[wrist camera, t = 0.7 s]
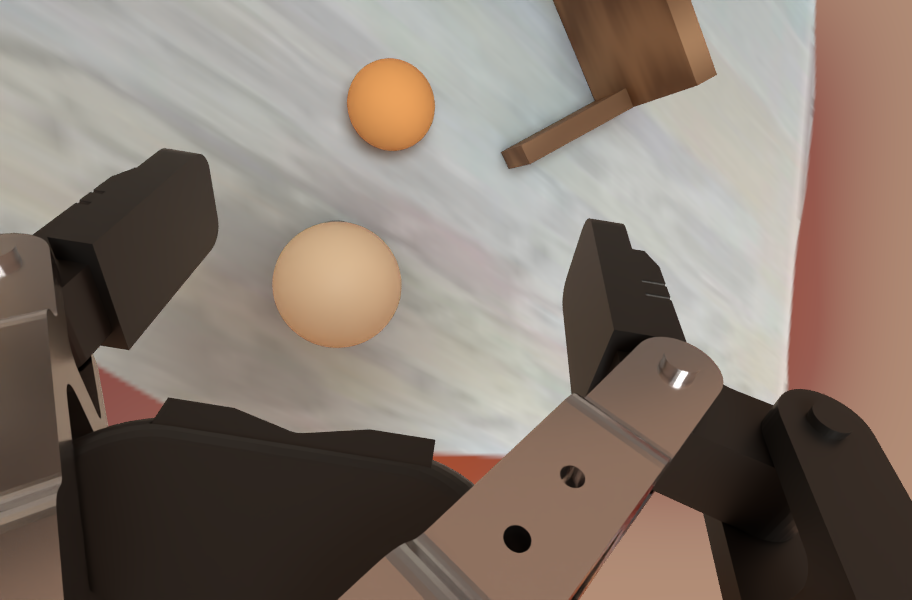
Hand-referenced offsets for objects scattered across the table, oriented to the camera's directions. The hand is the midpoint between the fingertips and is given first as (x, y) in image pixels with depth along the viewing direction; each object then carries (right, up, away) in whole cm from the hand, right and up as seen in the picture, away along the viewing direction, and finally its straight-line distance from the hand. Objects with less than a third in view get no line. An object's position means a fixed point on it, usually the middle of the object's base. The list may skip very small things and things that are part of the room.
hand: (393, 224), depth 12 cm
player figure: (-6, +1, +23) cm, 23 cm away
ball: (-2, +10, +20) cm, 22 cm away
